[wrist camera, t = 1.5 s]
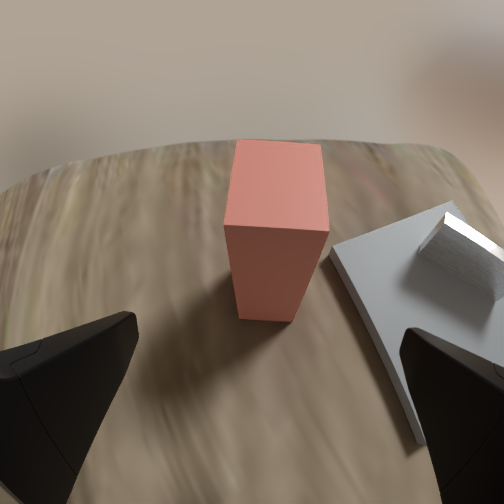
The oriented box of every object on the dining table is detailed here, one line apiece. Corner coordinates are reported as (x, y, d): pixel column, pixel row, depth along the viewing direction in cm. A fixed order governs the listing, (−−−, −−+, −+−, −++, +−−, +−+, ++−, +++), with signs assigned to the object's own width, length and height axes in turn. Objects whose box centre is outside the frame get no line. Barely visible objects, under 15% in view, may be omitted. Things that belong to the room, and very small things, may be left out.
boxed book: (292, 321, 22) (329, 231, 11) (239, 318, 22) (223, 224, 11) (293, 262, 24) (320, 144, 13) (244, 260, 24) (237, 139, 14)
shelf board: (521, 347, 19) (530, 343, 18) (417, 444, 16) (426, 445, 15) (445, 208, 27) (451, 200, 26) (328, 254, 25) (332, 246, 23)
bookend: (496, 292, 21) (528, 268, 16) (495, 302, 20) (528, 280, 16) (420, 244, 23) (446, 211, 19) (417, 255, 23) (444, 222, 18)
